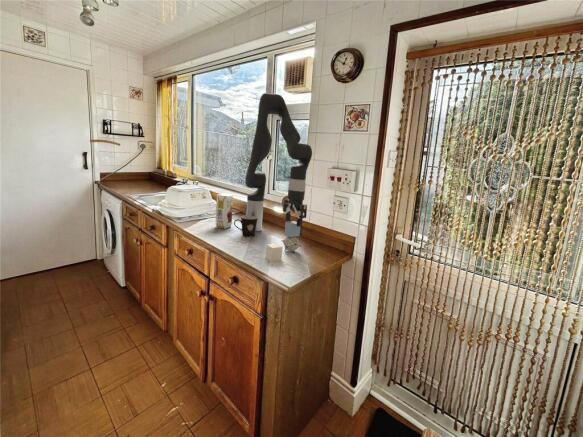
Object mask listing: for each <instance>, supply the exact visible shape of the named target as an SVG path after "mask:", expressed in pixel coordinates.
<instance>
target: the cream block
mask: <svg viewBox="0 0 583 437" xmlns="http://www.w3.org/2000/svg"><path fill="white" fill-rule="evenodd" d="M282 258H283V246H282V245H280V244H278V243H270V244H269V243H268V244H266V245H265V259H266V260H268V261H270V262H272V263H273V262H277V261H282Z"/></svg>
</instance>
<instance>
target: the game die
mask: <svg viewBox="0 0 583 437" xmlns="http://www.w3.org/2000/svg"><path fill="white" fill-rule="evenodd" d="M299 237H300V236H296V237H289V236H287V237H286V238H284V239H283V240H281V242H282V243H283V246H284V251H285V252H286V251H289V252H292V253H293V254H295V251H296V250H298V248H300V247H302V245H300V242H299Z"/></svg>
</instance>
